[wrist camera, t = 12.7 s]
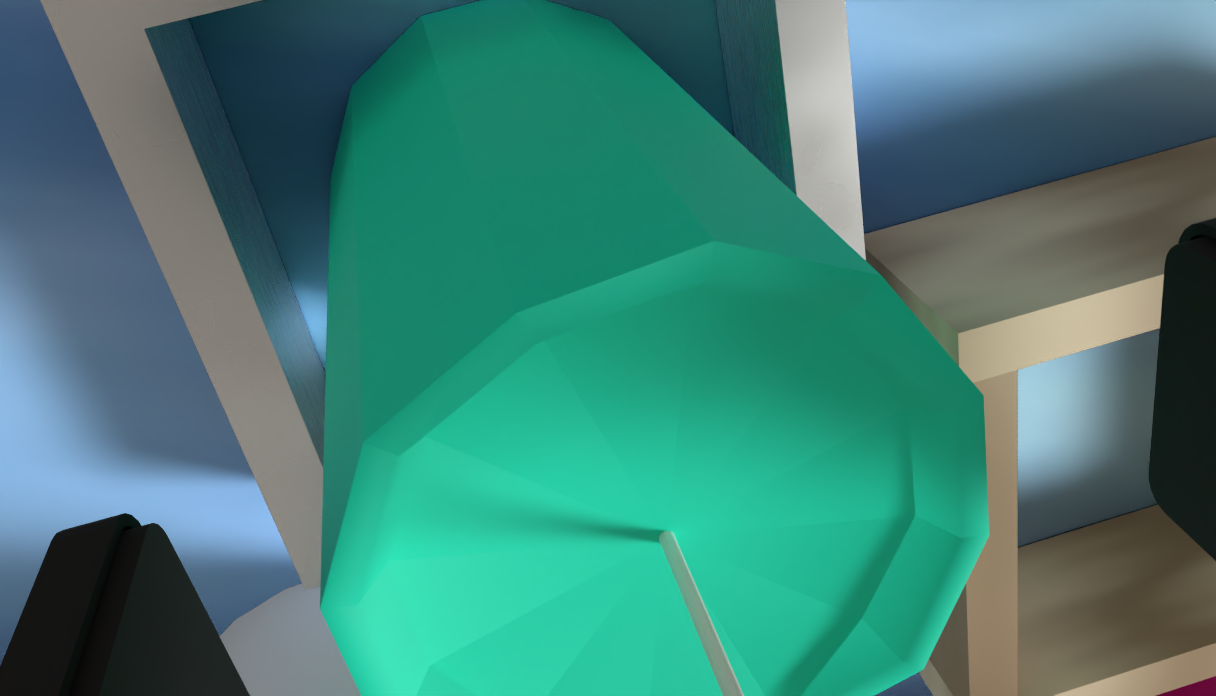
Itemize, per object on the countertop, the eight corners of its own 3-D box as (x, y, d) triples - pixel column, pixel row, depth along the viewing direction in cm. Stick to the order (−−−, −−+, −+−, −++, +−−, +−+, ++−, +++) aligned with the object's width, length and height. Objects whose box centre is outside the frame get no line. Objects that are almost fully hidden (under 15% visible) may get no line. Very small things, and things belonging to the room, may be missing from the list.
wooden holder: (749, -226, 16) (827, -224, 14) (813, 342, 21) (878, 421, 19) (77, -69, 15) (24, -36, 13) (310, 485, 20) (305, 591, 18)
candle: (253, 111, 17) (119, 649, 7) (589, -81, 17) (995, 166, 6) (449, 389, 20) (566, 1055, 10) (735, 230, 20) (1171, 741, 9)
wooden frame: (1332, 104, 21) (1525, 169, 18) (1272, 500, 26) (1413, 611, 23) (853, 237, 20) (958, 333, 17) (885, 620, 25) (972, 755, 22)
